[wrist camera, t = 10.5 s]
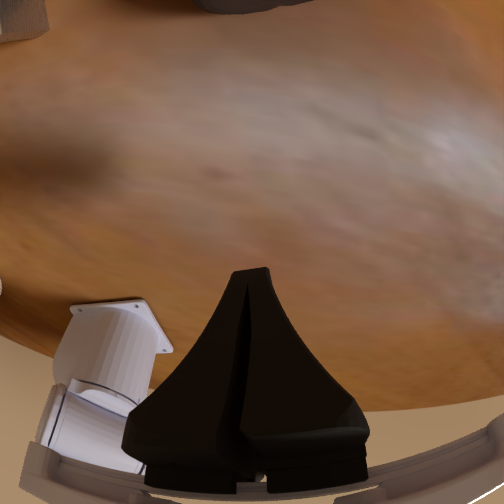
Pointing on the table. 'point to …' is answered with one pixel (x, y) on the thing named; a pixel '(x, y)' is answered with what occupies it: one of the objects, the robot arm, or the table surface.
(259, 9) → the pipe
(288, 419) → the robot arm
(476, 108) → the table surface
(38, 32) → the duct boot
